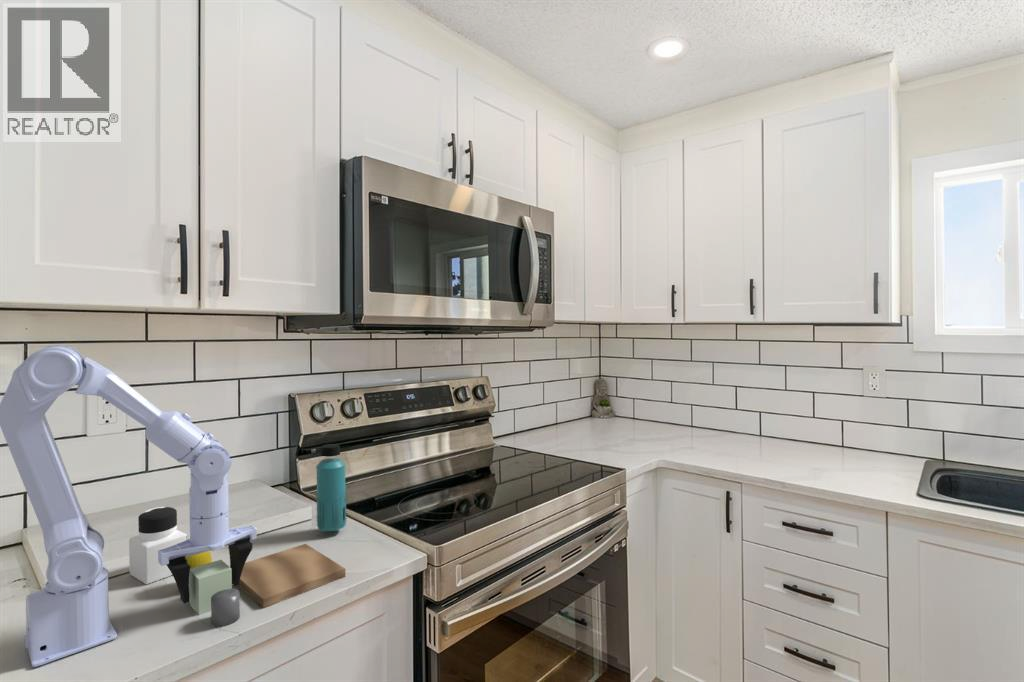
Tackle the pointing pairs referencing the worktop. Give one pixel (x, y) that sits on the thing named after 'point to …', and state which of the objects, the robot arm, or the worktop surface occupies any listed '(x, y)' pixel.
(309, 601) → the worktop surface
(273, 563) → the walnut board
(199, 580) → the sage block
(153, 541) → the medicine bottle
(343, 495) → the beverage bottle
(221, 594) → the charcoal canister
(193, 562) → the lemon
